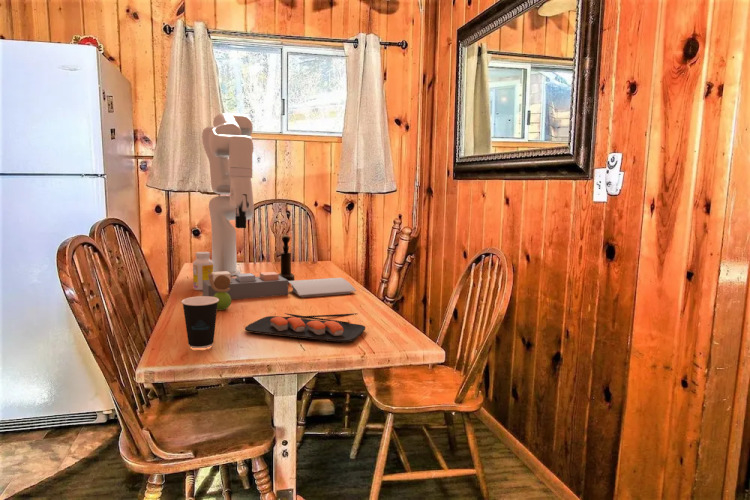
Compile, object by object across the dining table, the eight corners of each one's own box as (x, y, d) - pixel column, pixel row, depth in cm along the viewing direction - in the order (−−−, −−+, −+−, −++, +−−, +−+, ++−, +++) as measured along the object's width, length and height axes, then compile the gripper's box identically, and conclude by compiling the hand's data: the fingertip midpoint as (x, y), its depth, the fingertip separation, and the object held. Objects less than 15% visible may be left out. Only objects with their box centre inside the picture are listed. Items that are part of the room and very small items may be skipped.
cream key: (211, 284, 165) (211, 272, 165) (227, 282, 168) (227, 271, 167) (215, 286, 161) (214, 274, 160) (230, 285, 163) (230, 273, 163)
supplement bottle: (216, 287, 179) (216, 251, 178) (208, 291, 173) (208, 254, 171) (198, 286, 180) (198, 251, 178) (190, 290, 173) (189, 253, 172)
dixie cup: (205, 339, 120) (205, 294, 118) (226, 346, 115) (226, 299, 114) (175, 347, 113) (174, 300, 112) (196, 355, 109) (195, 305, 107)
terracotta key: (260, 284, 173) (260, 272, 173) (274, 283, 175) (274, 271, 175) (264, 286, 169) (264, 275, 168) (278, 285, 171) (278, 274, 171)
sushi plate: (239, 336, 125) (239, 321, 124) (291, 309, 154) (291, 296, 153) (351, 349, 117) (351, 333, 117) (383, 317, 146) (383, 304, 146)
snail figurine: (209, 308, 150) (208, 268, 148) (231, 307, 152) (231, 267, 150) (207, 312, 145) (207, 271, 143) (231, 311, 146) (230, 271, 145)
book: (282, 291, 178) (282, 280, 178) (342, 286, 189) (342, 276, 188) (295, 300, 165) (295, 288, 164) (359, 295, 175) (359, 284, 175)
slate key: (236, 285, 169) (236, 274, 169) (251, 284, 172) (251, 273, 171) (240, 288, 165) (240, 276, 164) (255, 287, 167) (255, 275, 167)
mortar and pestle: (282, 279, 198) (282, 233, 196) (297, 280, 196) (297, 234, 194) (274, 282, 192) (274, 235, 190) (289, 283, 190) (289, 236, 187)
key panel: (202, 295, 167) (202, 280, 166) (278, 289, 179) (278, 275, 179) (208, 301, 158) (208, 285, 157) (288, 294, 171) (288, 280, 170)
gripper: (224, 172, 173) (224, 225, 176) (234, 173, 160) (234, 231, 163) (246, 173, 177) (246, 224, 180) (258, 174, 164) (257, 230, 167)
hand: (240, 227), depth 172 cm, fingers closed
